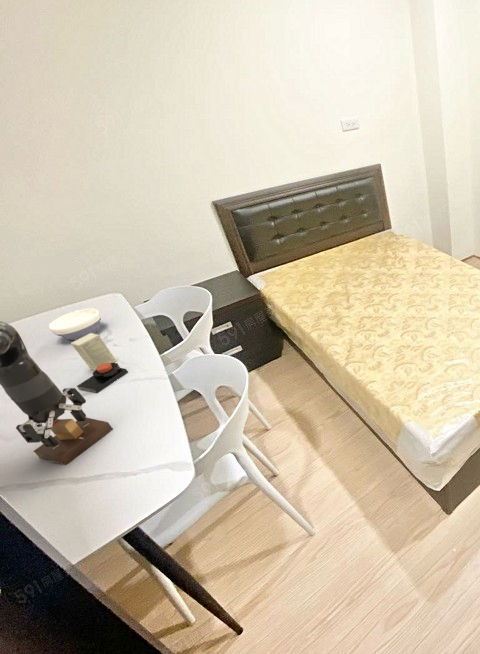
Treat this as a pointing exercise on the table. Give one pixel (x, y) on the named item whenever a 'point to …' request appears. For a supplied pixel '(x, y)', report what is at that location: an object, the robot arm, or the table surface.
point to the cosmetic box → (93, 351)
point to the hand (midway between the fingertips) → (68, 432)
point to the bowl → (76, 324)
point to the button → (104, 368)
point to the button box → (102, 379)
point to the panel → (75, 442)
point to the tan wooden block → (66, 429)
